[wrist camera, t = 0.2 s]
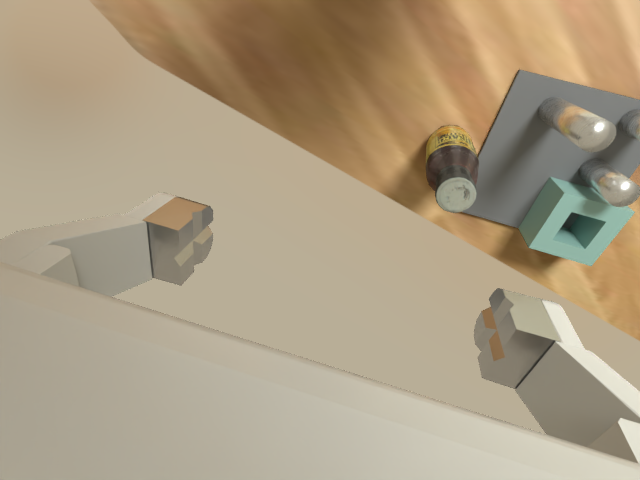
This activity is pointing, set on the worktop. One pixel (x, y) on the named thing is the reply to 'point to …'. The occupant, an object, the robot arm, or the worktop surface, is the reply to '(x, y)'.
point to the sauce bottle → (452, 168)
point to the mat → (543, 147)
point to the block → (586, 232)
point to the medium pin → (609, 182)
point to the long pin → (577, 124)
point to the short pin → (631, 124)
